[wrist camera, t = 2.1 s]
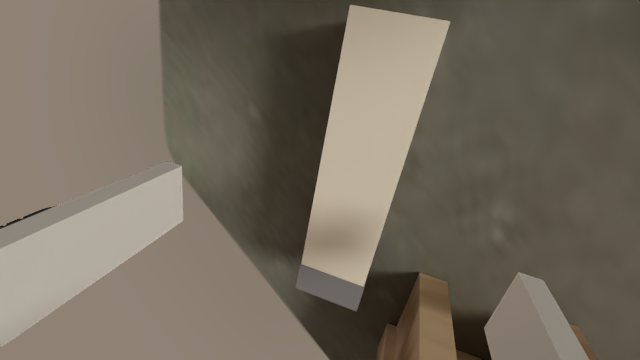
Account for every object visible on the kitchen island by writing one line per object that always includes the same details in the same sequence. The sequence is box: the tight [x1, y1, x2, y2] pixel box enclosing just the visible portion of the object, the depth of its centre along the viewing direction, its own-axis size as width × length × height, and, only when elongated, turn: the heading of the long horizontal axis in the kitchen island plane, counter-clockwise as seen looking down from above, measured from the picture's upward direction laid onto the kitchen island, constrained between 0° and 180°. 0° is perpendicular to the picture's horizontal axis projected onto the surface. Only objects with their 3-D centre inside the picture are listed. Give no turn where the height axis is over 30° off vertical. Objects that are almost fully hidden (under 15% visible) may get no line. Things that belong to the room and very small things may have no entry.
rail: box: [296, 5, 450, 312], centre depth 17 cm, size 16×4×5 cm, turn 170°
